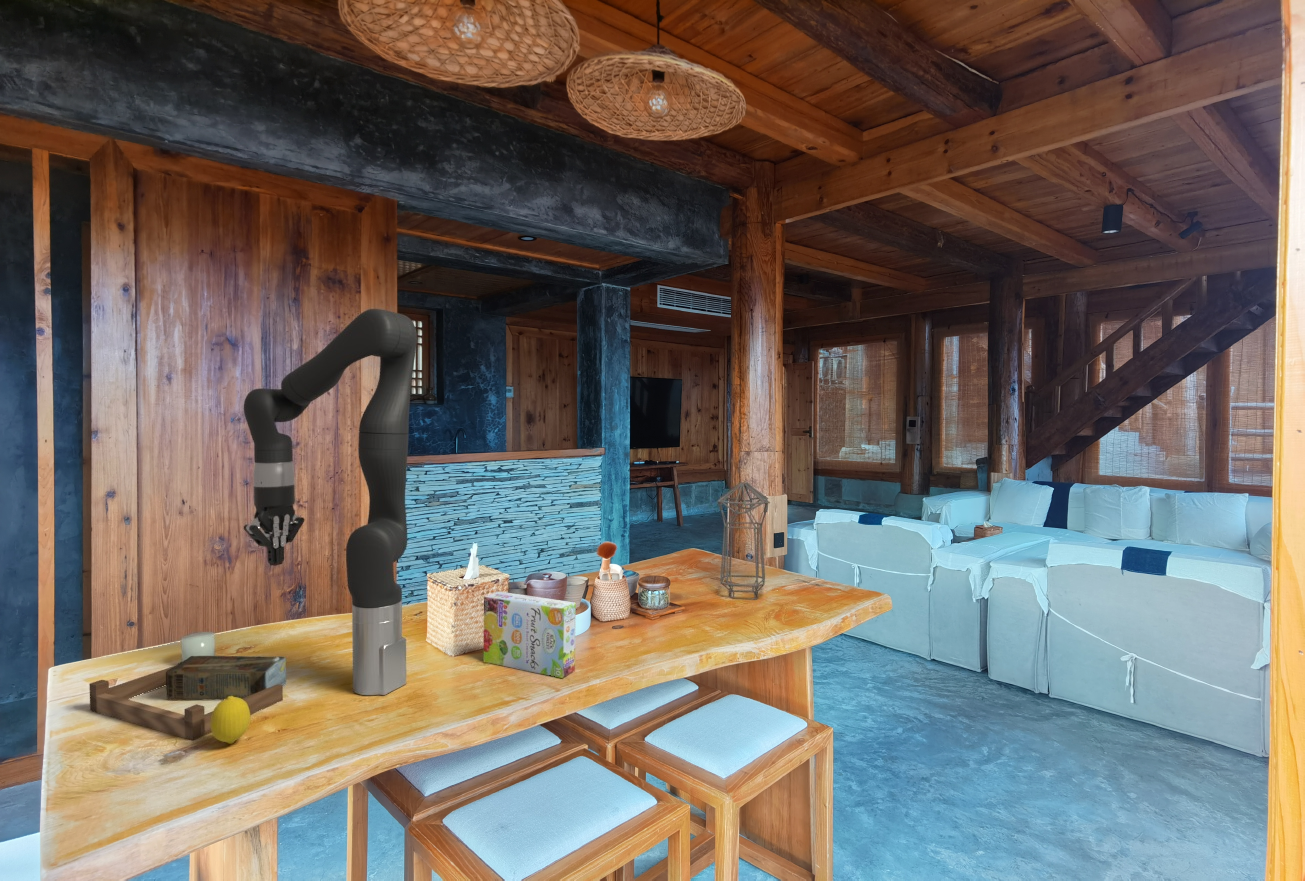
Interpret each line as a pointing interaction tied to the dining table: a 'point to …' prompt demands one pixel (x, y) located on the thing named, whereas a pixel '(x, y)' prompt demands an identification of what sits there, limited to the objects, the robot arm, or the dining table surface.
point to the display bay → (160, 719)
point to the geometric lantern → (763, 501)
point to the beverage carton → (224, 676)
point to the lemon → (230, 719)
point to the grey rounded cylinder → (198, 645)
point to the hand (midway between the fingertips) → (276, 564)
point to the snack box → (530, 633)
